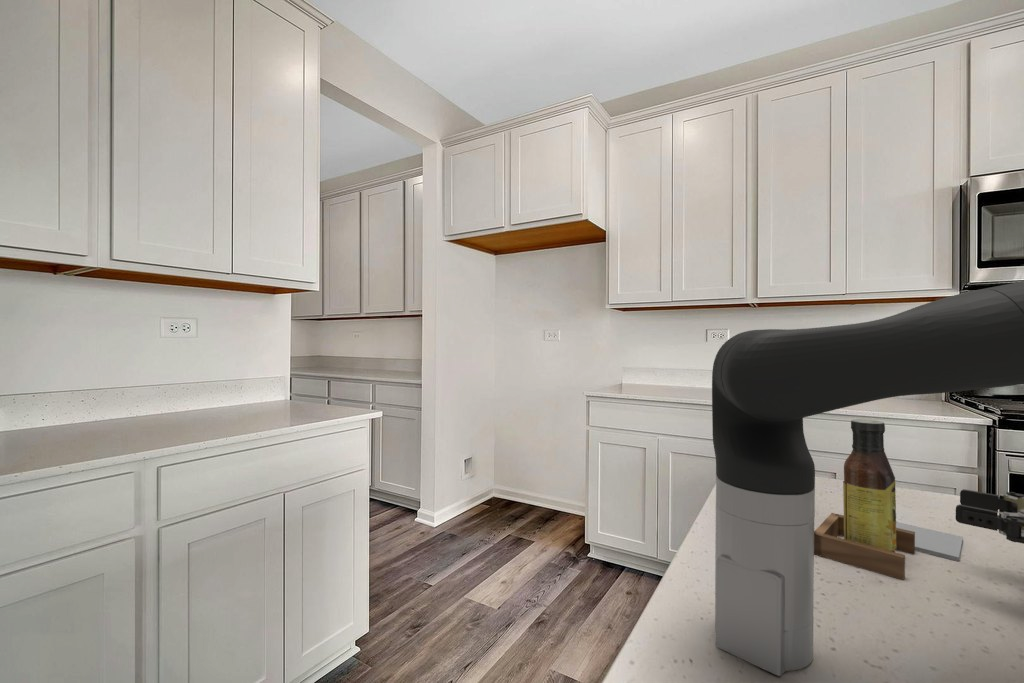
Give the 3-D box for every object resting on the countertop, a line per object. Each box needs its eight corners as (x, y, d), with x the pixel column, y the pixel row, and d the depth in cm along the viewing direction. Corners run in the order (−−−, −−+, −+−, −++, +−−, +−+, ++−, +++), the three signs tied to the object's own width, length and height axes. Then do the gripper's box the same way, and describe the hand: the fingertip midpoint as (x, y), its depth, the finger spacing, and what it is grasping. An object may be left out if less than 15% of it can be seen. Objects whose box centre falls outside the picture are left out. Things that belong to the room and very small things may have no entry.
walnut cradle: (903, 580, 63) (903, 557, 63) (811, 553, 70) (812, 533, 70) (914, 551, 71) (915, 532, 71) (831, 530, 78) (831, 512, 78)
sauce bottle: (906, 566, 66) (907, 426, 66) (856, 562, 68) (857, 424, 67) (879, 546, 73) (881, 418, 72) (834, 542, 74) (836, 416, 74)
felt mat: (958, 561, 68) (958, 557, 68) (880, 541, 74) (880, 537, 74) (962, 540, 75) (962, 536, 75) (890, 524, 81) (890, 520, 81)
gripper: (1148, 494, 56) (961, 466, 68) (1180, 528, 46) (954, 488, 58) (1147, 556, 56) (960, 518, 68) (1178, 603, 46) (953, 549, 58)
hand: (958, 504), depth 63 cm, fingers open, 8 cm apart
